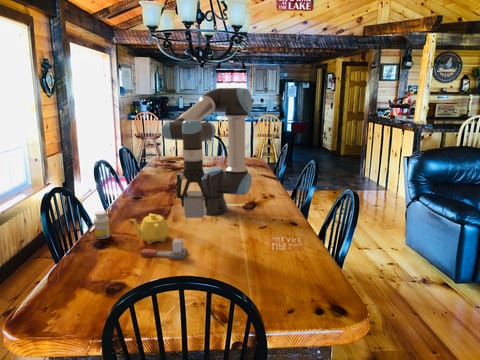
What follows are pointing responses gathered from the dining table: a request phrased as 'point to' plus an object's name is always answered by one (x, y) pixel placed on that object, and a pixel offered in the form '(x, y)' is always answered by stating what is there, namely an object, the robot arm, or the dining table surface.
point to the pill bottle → (102, 225)
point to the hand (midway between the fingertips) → (195, 214)
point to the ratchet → (176, 252)
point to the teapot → (152, 228)
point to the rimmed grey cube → (194, 204)
